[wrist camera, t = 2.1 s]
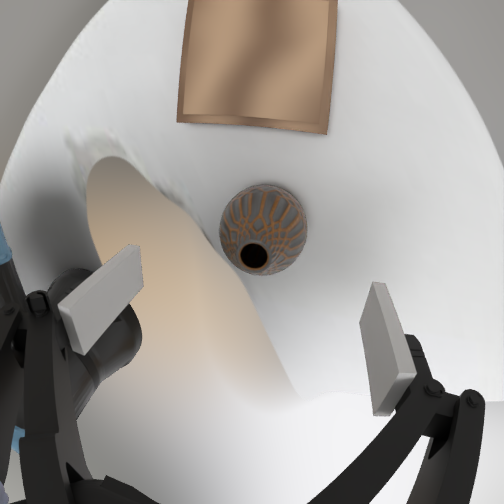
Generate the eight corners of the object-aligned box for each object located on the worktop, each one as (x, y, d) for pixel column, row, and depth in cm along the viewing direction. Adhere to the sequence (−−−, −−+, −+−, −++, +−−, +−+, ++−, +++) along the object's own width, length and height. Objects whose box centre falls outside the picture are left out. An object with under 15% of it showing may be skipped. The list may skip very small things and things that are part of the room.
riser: (187, 121, 25) (174, 122, 22) (199, 3, 20) (187, -8, 17) (324, 133, 24) (327, 135, 21) (334, 8, 18) (338, -5, 16)
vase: (216, 203, 28) (182, 239, 20) (280, 163, 25) (269, 184, 17) (257, 262, 30) (240, 315, 22) (320, 228, 27) (326, 275, 19)
